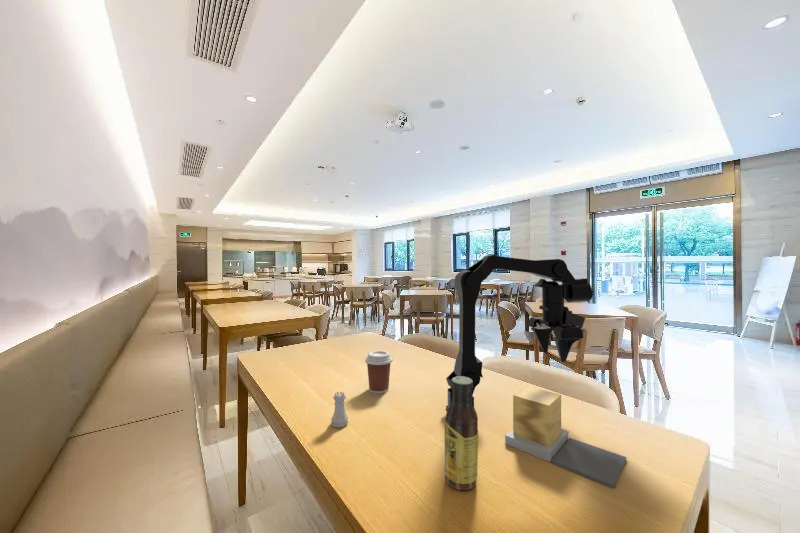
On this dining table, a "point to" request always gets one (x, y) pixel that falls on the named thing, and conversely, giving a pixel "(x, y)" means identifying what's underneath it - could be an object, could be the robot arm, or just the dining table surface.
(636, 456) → the dining table surface
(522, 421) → the ochre block
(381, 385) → the coffee cup
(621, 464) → the rubber pad
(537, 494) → the dining table surface
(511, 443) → the block
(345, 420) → the rook chess piece
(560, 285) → the robot arm
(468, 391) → the sauce bottle
